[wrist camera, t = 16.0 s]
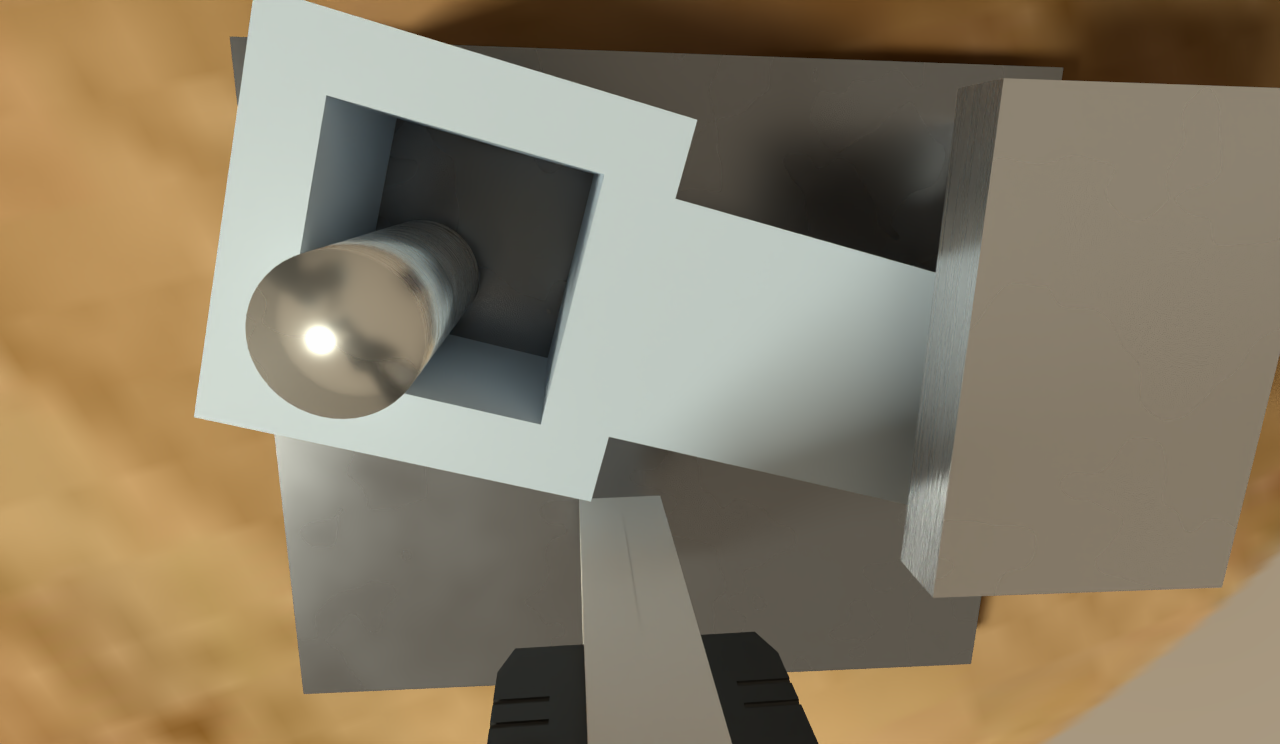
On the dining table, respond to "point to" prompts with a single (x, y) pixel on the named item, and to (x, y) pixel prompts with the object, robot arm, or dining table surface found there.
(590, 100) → the link
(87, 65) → the dining table surface
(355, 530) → the keeper plate
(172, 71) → the dining table surface
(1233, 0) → the dining table surface
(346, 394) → the cylinder
